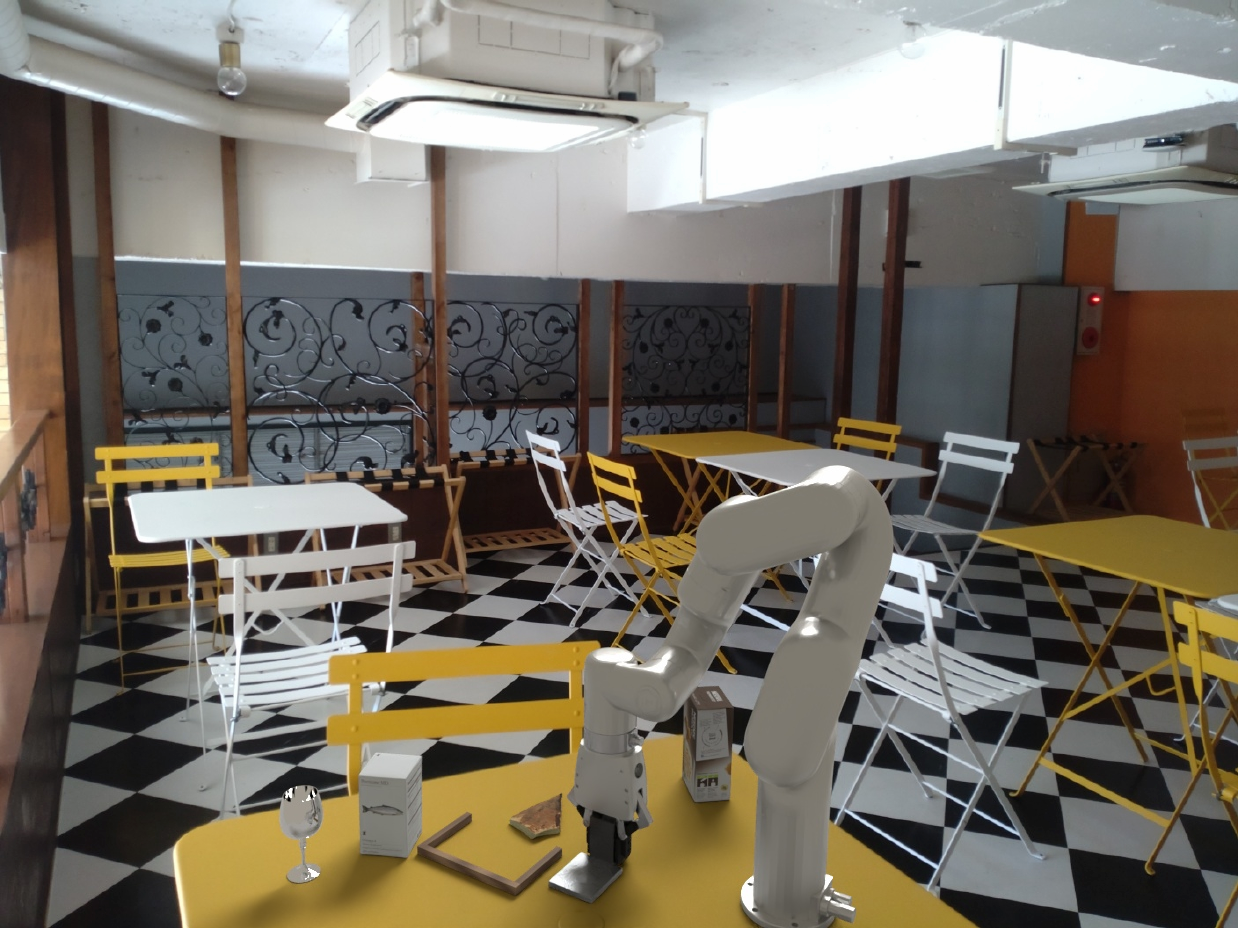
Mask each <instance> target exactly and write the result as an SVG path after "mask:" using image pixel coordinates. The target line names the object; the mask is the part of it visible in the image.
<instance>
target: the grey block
mask: <svg viewBox="0 0 1238 928" xmlns="http://www.w3.org/2000/svg"><path fill="white" fill-rule="evenodd" d="M618 836H619V835H618V829H617V822H616V818H614V817H611V816H608V815H605V814H602V813H599V812H597V811H595V812H594V813H593V814H592V815H590V854H587V853H584V852H582V851H581V852H580V853H578V854H577V855H576V856H575V857H574V858H573V859H572V860H570V861H569V862H568V863H567V864H566V865H565V866H563V868H561V870H560V871H558V872H557V873H556V874H555V875H554V876H552V877H551V879H549V880H548V887H550V888H552V889H554V890H557V891H560V892H562V893H564V894H566V895H569V896H571V897H575V898H577V899H579V900H582V901H583V902H584V901H585V902H587V903H589V904H593V903H594V902H595V900H596V899H597V898H599V897H600V896H601V895H602V893H604V891H606V890H607V889H608V888H609V886H611V885H612V884H613V883H614V882H615V881H616V880H617V879H618V877H620V876H621V875H622V873H623V867H622V866H619V864H616V863H615V839H616V838H617V837H618Z"/></svg>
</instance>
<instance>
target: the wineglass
mask: <svg viewBox="0 0 1238 928" xmlns="http://www.w3.org/2000/svg"><path fill="white" fill-rule="evenodd" d="M281 797H282V798H281V802H280V808H279V814H278V818H279V819H278V820H279V826H280V830H281V832H282V834H283V835H284V836H285V837H287V838H288V839H291V840H296V841H298V846H299V849H300V853H301V863H300V864H298V865H295V866H293V867H292V868H290V869H289V870H288V871H287V874H286V879H287V880H288V881H289V882H291V883H297V884H303V883H307V882H311V881H313V880H314V879H316V878H317V877H318V876H319V875H320V874H321V867H320V866H319V865H318V864H317V863H311V862H307V863H306V854H305V853H306V847H307V840H306V839H309V838H311V837H313V836H314V835H315V834H317V833H318V832H319V830H320V829H321V827H322V826H323V825H322V824H323V821H324V808H323V807H324V806H323V803H322V799H321V795H320V792H319V790H318V788H317V787H315V786H312V785H297V786H294V787H291V788H289V789H287V790H286V791H284V793H283V795H282V796H281Z"/></svg>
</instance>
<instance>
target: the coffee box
mask: <svg viewBox="0 0 1238 928" xmlns="http://www.w3.org/2000/svg"><path fill="white" fill-rule="evenodd" d="M734 712H735V707H734V705H733V704H732V703H731V701H730V699H729V698H728V697H727V695H726V694H725V693H724V692H723V690H722V689H721V687H720V686H719V685H709V686H707V685H706V686H704V685H703V686H698V687H697V688H696V689H695V691H694V692H693V693H692V694H691V695H690V696H689V698H688V699H687V700H686V701H685V703H684V704H683V730H682V731H683V735H682V736H683V738H682V739H683V740H682V769H681V770H682V773H681V774H682V775H681V777H682V780H683V781H684V783H685V785H686V787H687V790H688V792H689V794H690V796H691V798H692V800H693V802H694V803H702V802H703V803H704V802H715V801H716V802H718V801H728V800H730V799H731V791H732V790H731V785H732V784H731V783H732V766H733V765H732V760H733V739H734V737H733V736H734V734H733V733H734Z"/></svg>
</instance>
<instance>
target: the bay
mask: <svg viewBox="0 0 1238 928" xmlns="http://www.w3.org/2000/svg"><path fill="white" fill-rule="evenodd" d="M472 821H473V814H472V813H471V812H468V811H466V812H465V813H463V814H462V815H460V816H459V817H458V818H456V819H454V820H453V821H451V822H450V823H449V824H447V825H446V826H444V827H443V828H441V829H440V830H438V831H437V832H435V833H434V834H433V835H431V836H429V838H426V839H425V840H424V841H422V842H421V843H420V844H418V845H417V846H416V854H417V855H420V856H422V857H424V858H426V859H428V860H431V861H434V862H436V863H438V864H440V865H442V866H445V867H447V868H450V869H451V870H455V871H457V872H459V873H461V874H463V875H466V876H469V877H471V878H473V879H476V880H478V881H480V882H482V883H485V884H487V885H490V886H491V887H494V888H496V889H499V890H500V891H504V892H505V893H509V894H510V895H512V896H515V897H516V896H517V895H518V894H520V893H521V892H522V891H523V890H524V889H525V888H526V887H528V886H529V885H530V884H531V883H533V882H534V881H535V880H536V879H537V878H538V877H539V876H540V875H542V874H543V873H544V872H545V871H547V869H549V868H550V867H551V866H552V865H553V864H554V863H556V862H557V861H558V860H559V859H560V858H561V857H563V848H562V847H560V846H557V845H556V846H555V847H553V849H552V850H550V851H549V852H548V853H546V854H544V856H543V857H542V858H540V859H539V860H538V861H537V862H536V863H535V864H534V865H531V867H530V868H529V869H528V870H526V871H525V872H524V873H523V874H521V876H519V877H518V878H517V879H516V880H511V879H510V878H507V877H504V876H502V875H500V874H498V873H495V872H492V871H490V870H487V869H485V868H483V867H481V866H478V865H476V864H473V863H471V862H469V861H466V860H464V859H462V858H459V857H457V856H454V855H452V854H449V853H447V852H445V851H442V850H440V849H438V848H436V847H437V846H439V845H440V844H441V843H443V842H444V841H446V840H447V839H449V838H450V837H452V836H453V835H454V834H456V833H457V832H459V831H460V830H461V829H462V828H464V827H465V826H467V825H469V824H470V823H471V822H472Z"/></svg>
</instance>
